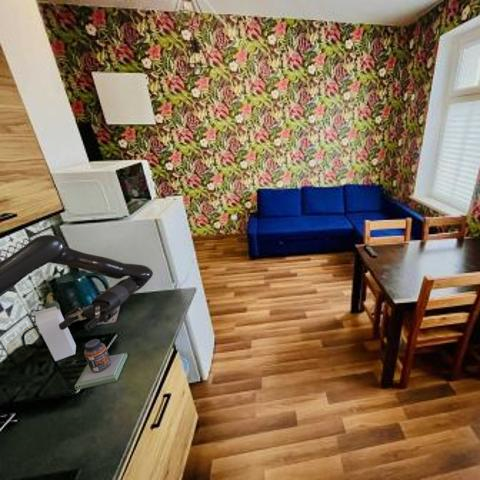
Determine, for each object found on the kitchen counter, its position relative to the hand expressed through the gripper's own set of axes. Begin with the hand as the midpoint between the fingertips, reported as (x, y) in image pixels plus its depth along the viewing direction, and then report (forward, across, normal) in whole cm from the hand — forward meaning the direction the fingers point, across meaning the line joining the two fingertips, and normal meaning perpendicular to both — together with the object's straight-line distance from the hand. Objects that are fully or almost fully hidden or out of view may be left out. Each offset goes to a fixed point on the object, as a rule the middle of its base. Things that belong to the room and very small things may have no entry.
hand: (73, 328), depth 86 cm
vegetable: (-24, -35, +24) cm, 49 cm away
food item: (-34, -22, +24) cm, 47 cm away
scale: (-4, 0, +24) cm, 24 cm away
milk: (-12, -22, +24) cm, 35 cm away
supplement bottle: (-4, 0, +21) cm, 22 cm away
